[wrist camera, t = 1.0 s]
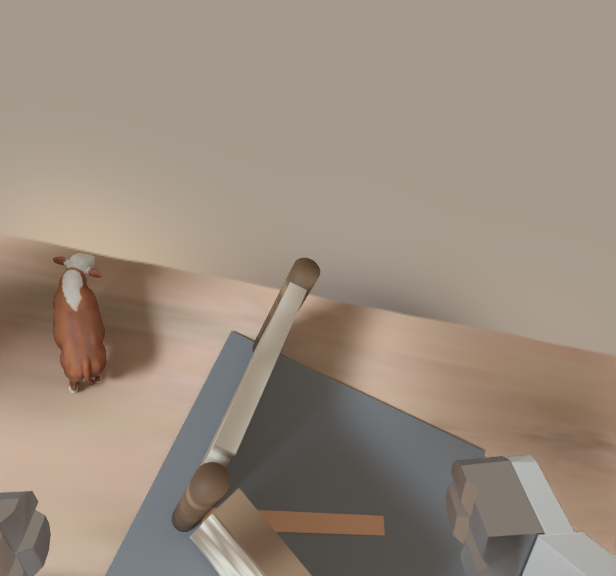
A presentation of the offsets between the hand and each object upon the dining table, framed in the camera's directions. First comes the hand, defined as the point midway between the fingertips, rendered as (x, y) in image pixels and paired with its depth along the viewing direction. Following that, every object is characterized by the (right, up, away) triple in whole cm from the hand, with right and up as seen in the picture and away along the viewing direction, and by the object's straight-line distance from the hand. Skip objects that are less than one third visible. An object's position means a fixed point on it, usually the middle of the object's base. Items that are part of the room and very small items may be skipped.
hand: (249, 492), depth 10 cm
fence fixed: (-7, -10, +42) cm, 44 cm away
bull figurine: (-22, -1, +43) cm, 48 cm away
